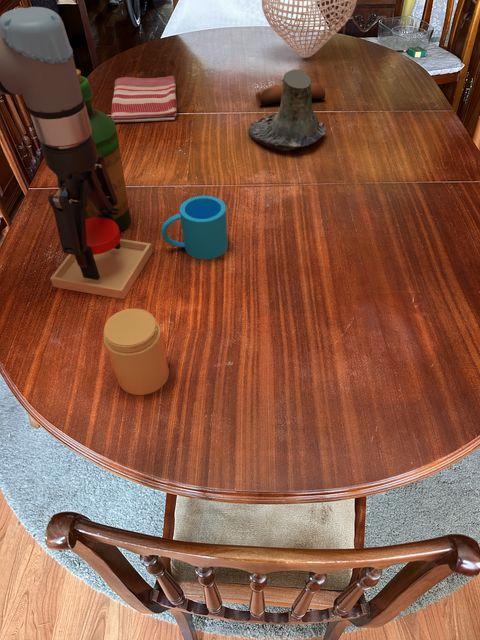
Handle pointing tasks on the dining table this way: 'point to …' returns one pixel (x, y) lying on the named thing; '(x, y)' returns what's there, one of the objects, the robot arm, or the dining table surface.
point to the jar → (136, 351)
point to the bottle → (106, 156)
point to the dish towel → (144, 99)
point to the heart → (324, 40)
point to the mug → (201, 227)
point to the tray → (106, 270)
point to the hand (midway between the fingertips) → (102, 261)
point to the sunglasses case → (275, 94)
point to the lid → (102, 234)
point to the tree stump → (290, 117)
